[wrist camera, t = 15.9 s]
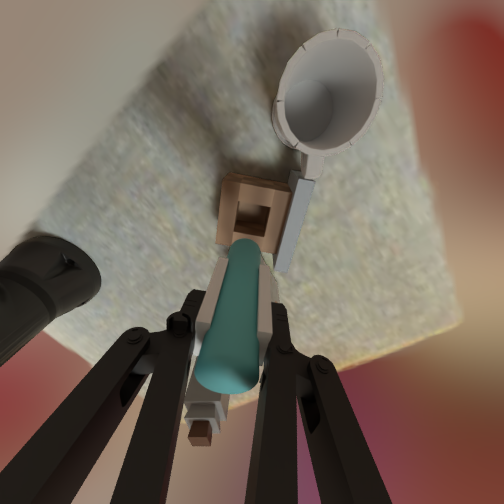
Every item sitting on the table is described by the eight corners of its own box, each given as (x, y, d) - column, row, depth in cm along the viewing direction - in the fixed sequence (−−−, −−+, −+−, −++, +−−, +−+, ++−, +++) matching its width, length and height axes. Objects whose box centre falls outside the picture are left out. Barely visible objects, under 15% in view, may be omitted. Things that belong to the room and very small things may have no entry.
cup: (355, 132, 29) (407, 129, 19) (298, 174, 32) (315, 191, 22) (318, 52, 26) (357, -8, 15) (256, 107, 29) (253, 89, 18)
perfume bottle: (207, 357, 54) (185, 450, 38) (202, 339, 50) (174, 431, 35) (234, 357, 53) (222, 450, 37) (230, 338, 50) (215, 431, 34)
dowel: (227, 263, 21) (192, 389, 11) (231, 235, 20) (195, 349, 9) (257, 268, 21) (252, 398, 11) (263, 241, 20) (264, 360, 9)
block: (222, 226, 37) (215, 243, 31) (229, 172, 32) (222, 179, 27) (274, 236, 37) (276, 254, 31) (287, 183, 33) (292, 193, 27)
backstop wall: (271, 246, 38) (273, 270, 31) (290, 169, 32) (298, 178, 25) (282, 248, 38) (287, 273, 31) (303, 172, 32) (315, 182, 25)
